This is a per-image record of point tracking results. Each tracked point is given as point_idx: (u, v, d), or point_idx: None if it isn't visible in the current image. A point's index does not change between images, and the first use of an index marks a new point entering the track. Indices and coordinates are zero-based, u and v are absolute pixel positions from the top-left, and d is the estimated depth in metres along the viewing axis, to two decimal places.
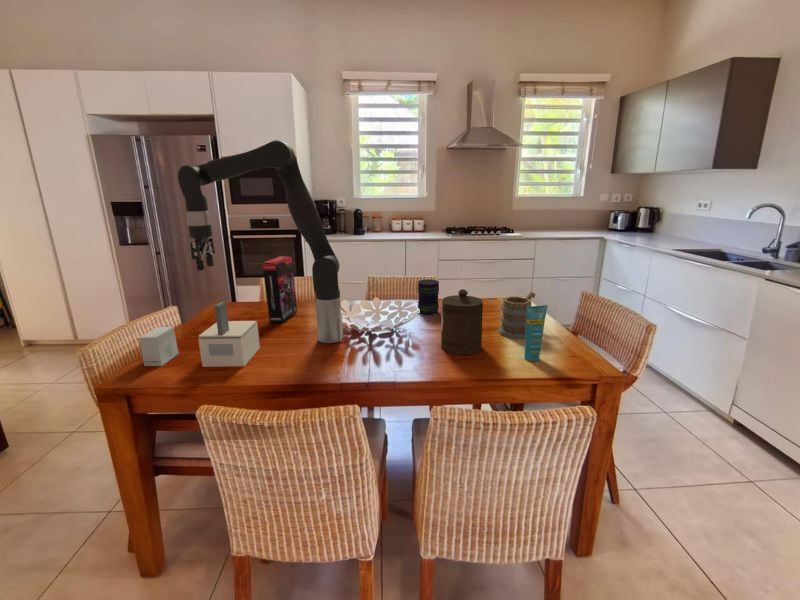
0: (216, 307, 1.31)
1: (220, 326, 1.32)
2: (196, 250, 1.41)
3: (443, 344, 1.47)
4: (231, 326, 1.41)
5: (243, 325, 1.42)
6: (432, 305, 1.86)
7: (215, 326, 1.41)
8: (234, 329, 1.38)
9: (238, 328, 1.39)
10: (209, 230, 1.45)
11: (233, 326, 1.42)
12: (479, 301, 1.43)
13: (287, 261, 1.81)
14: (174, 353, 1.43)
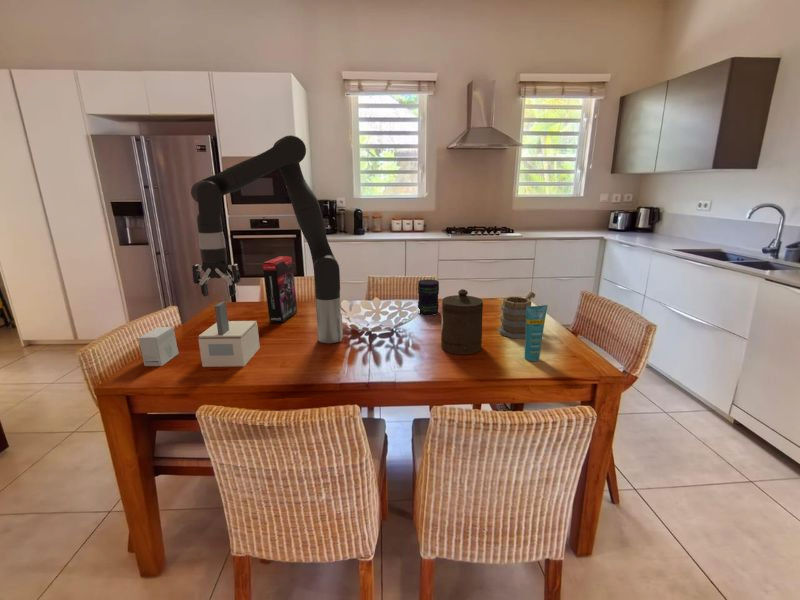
0: (216, 307, 1.31)
1: (220, 326, 1.32)
2: (238, 272, 1.31)
3: (443, 344, 1.47)
4: (231, 326, 1.41)
5: (243, 325, 1.42)
6: (432, 305, 1.86)
7: (215, 326, 1.41)
8: (234, 329, 1.38)
9: (238, 328, 1.39)
10: None
11: (233, 326, 1.42)
12: (479, 301, 1.43)
13: (287, 261, 1.81)
14: (174, 353, 1.43)
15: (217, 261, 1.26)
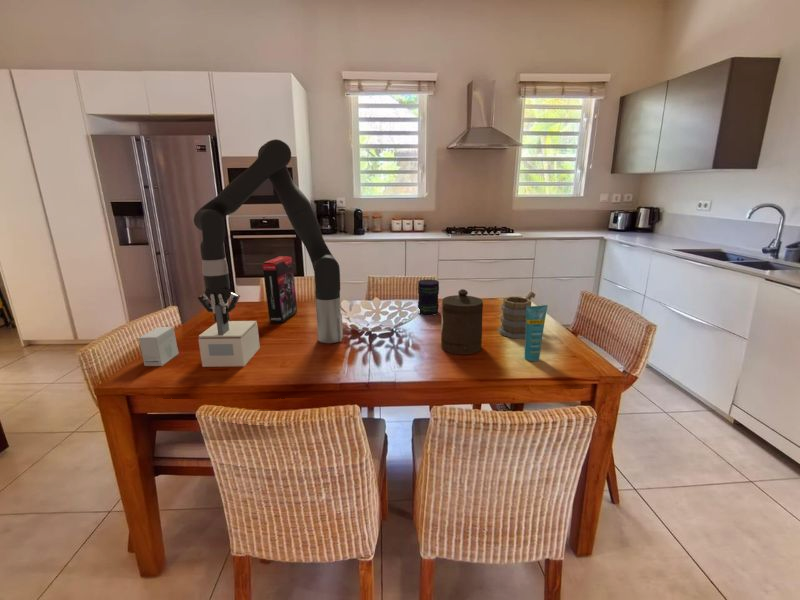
0: (216, 307, 1.31)
1: (220, 326, 1.32)
2: (236, 302, 1.34)
3: (443, 344, 1.47)
4: (231, 326, 1.41)
5: (243, 325, 1.42)
6: (432, 305, 1.86)
7: (215, 326, 1.41)
8: (234, 329, 1.38)
9: (238, 328, 1.39)
10: None
11: (233, 326, 1.42)
12: (479, 301, 1.43)
13: (287, 261, 1.81)
14: (174, 353, 1.43)
15: (220, 287, 1.29)
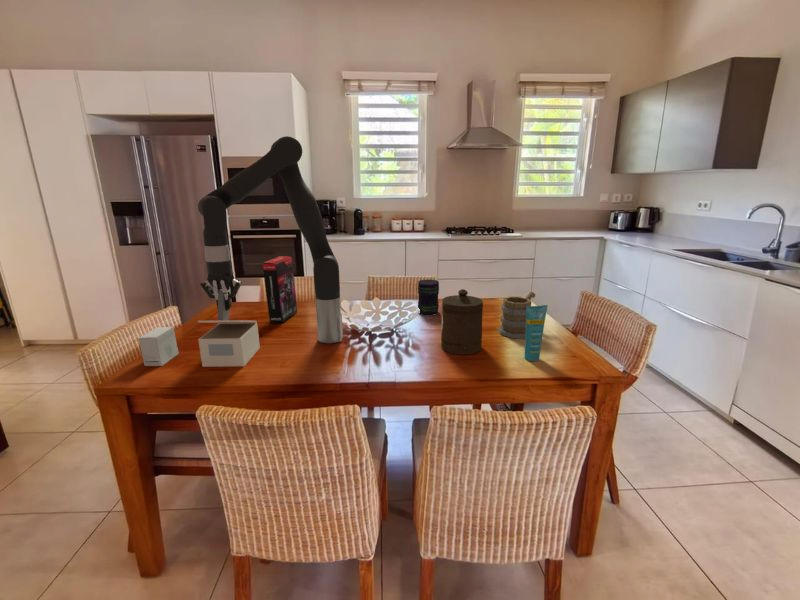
0: (220, 291, 1.33)
1: (221, 311, 1.33)
2: (238, 289, 1.35)
3: (443, 344, 1.47)
4: None
5: None
6: (432, 305, 1.86)
7: None
8: None
9: None
10: None
11: None
12: (479, 301, 1.43)
13: (287, 261, 1.81)
14: (174, 353, 1.43)
15: (222, 273, 1.30)
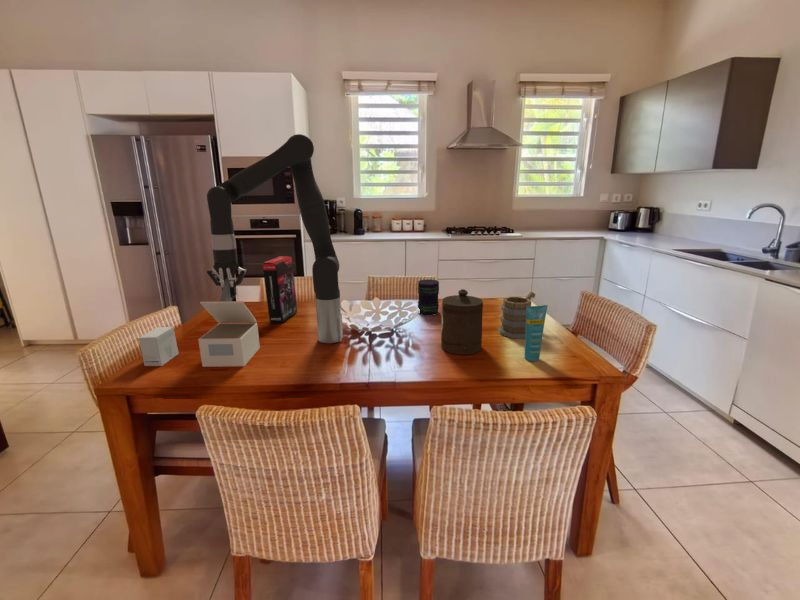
0: (227, 278, 1.39)
1: (224, 294, 1.36)
2: (243, 277, 1.40)
3: (443, 344, 1.47)
4: None
5: None
6: (432, 305, 1.86)
7: None
8: None
9: None
10: None
11: None
12: (479, 301, 1.43)
13: (287, 261, 1.81)
14: (174, 353, 1.43)
15: (228, 261, 1.35)
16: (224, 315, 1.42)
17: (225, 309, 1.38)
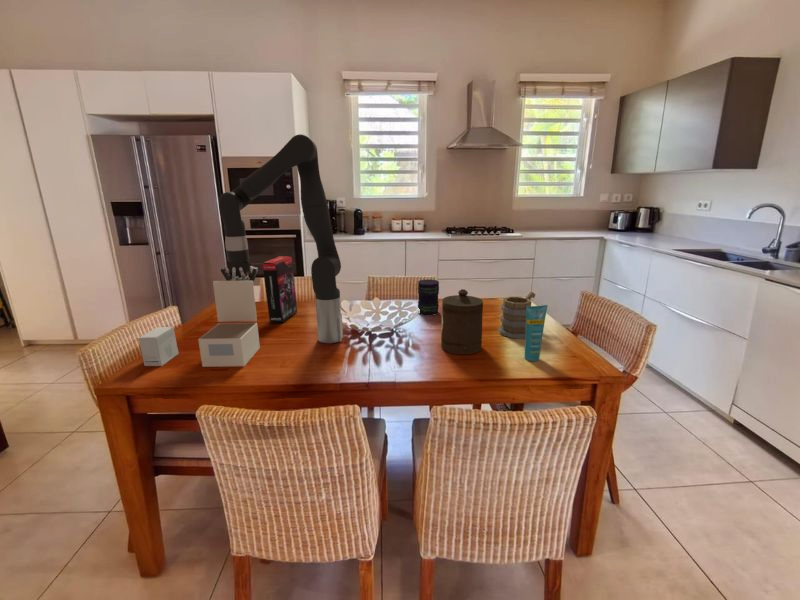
0: None
1: (237, 280, 1.47)
2: (255, 275, 1.51)
3: (443, 344, 1.47)
4: None
5: None
6: (432, 305, 1.86)
7: None
8: None
9: None
10: None
11: None
12: (479, 301, 1.43)
13: (287, 261, 1.81)
14: (174, 353, 1.43)
15: (241, 261, 1.46)
16: (228, 305, 1.45)
17: (233, 293, 1.44)
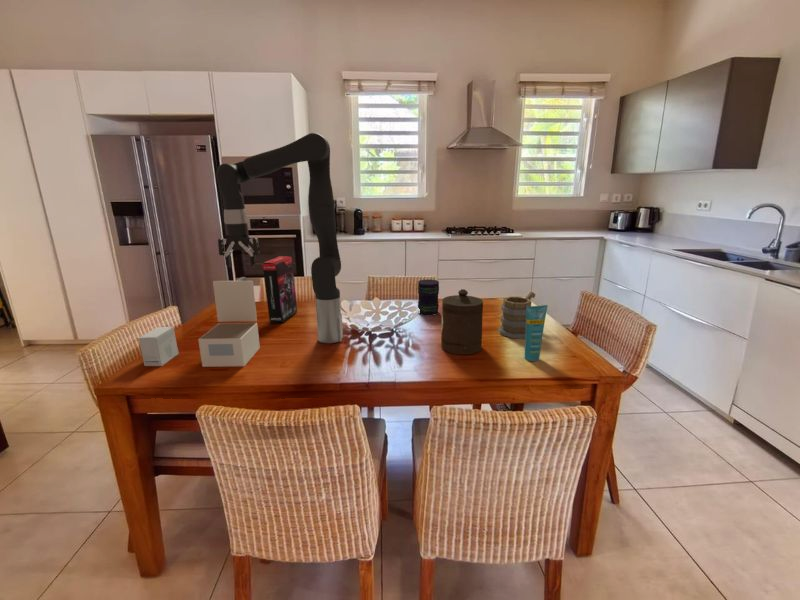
0: (242, 277, 1.53)
1: (237, 280, 1.47)
2: (258, 245, 1.48)
3: (443, 344, 1.47)
4: None
5: None
6: (432, 305, 1.86)
7: None
8: None
9: None
10: None
11: None
12: (479, 301, 1.43)
13: (287, 261, 1.81)
14: (174, 353, 1.43)
15: (240, 234, 1.44)
16: (228, 305, 1.45)
17: (233, 293, 1.44)
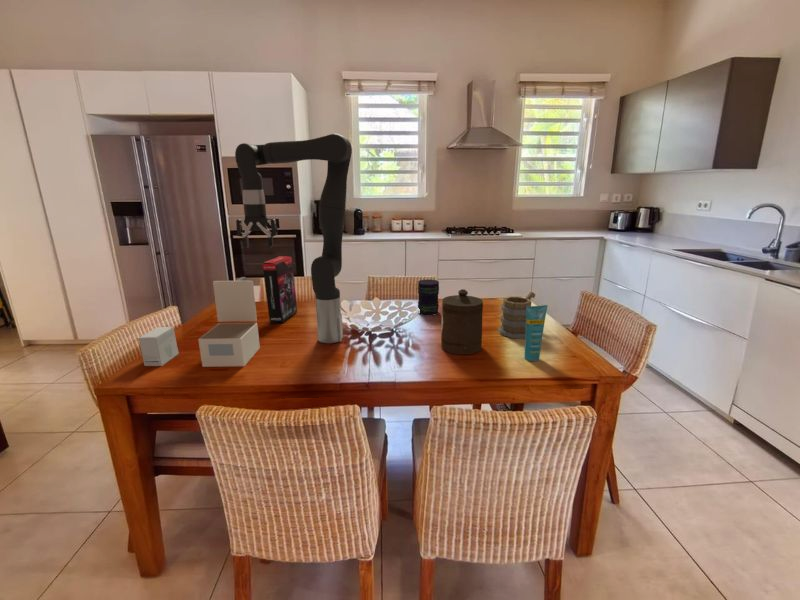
0: (242, 277, 1.53)
1: (237, 280, 1.47)
2: (276, 226, 1.49)
3: (443, 344, 1.47)
4: None
5: None
6: (432, 305, 1.86)
7: None
8: None
9: None
10: None
11: None
12: (479, 301, 1.43)
13: (287, 261, 1.81)
14: (174, 353, 1.43)
15: (258, 215, 1.44)
16: (228, 305, 1.45)
17: (233, 293, 1.44)
